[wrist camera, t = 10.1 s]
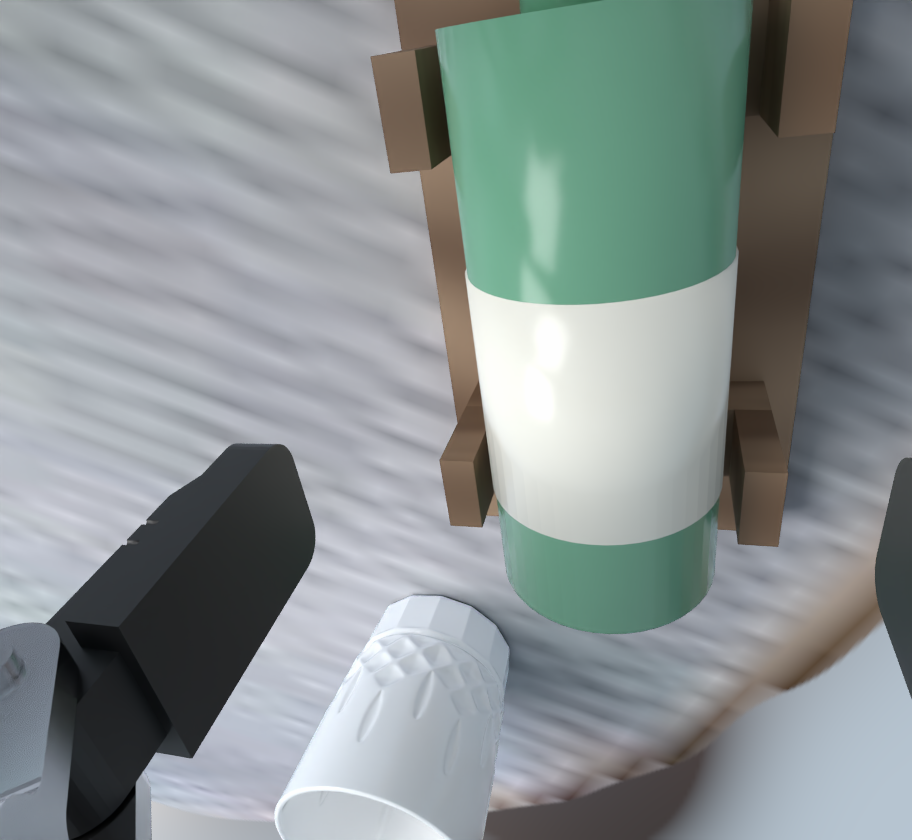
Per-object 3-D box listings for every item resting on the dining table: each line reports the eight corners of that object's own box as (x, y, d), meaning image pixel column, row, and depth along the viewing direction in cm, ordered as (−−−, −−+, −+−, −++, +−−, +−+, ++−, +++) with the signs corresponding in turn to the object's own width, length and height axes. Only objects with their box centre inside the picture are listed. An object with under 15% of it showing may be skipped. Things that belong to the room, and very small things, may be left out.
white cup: (359, 663, 36) (269, 860, 28) (379, 561, 31) (279, 760, 23) (501, 715, 35) (451, 934, 27) (542, 618, 31) (497, 844, 22)
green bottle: (399, -292, 13) (343, -505, 8) (716, -359, 13) (880, -636, 7) (501, 502, 23) (506, 642, 18) (685, 486, 22) (747, 627, 17)
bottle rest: (393, -106, 18) (286, -148, 13) (867, -209, 15) (972, -319, 10) (478, 496, 28) (436, 607, 23) (774, 511, 25) (802, 644, 20)
